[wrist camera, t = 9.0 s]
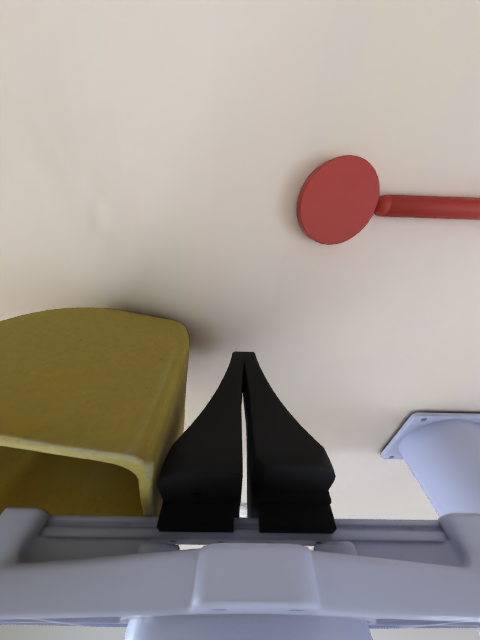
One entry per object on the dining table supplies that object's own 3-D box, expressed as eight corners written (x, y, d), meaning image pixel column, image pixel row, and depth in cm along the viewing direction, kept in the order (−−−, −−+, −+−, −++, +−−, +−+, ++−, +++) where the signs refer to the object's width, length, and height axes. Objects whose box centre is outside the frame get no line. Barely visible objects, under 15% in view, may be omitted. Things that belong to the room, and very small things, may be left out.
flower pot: (68, 270, 12) (-273, 403, 4) (215, 298, 12) (146, 469, 5) (96, 374, 16) (-42, 529, 9) (202, 393, 17) (158, 557, 9)
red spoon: (598, 167, 9) (630, 164, 8) (535, 248, 11) (557, 252, 10) (304, 156, 9) (310, 152, 8) (291, 240, 11) (294, 244, 10)
